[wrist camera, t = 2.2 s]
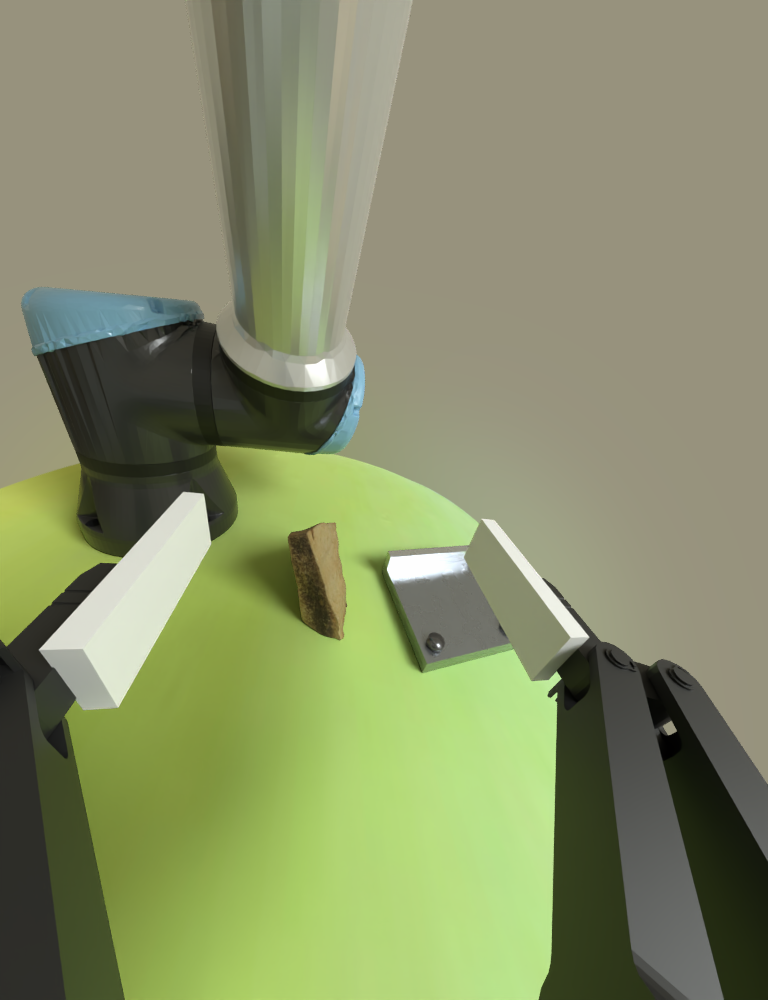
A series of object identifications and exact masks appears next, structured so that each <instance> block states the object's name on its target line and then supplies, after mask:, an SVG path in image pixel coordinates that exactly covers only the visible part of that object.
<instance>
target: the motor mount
mask: <svg viewBox="0 0 768 1000" xmlns="http://www.w3.org/2000/svg"><path fill="white" fill-rule="evenodd" d="M468 547H469V545H466V546H453V547H439V548H425V549H411V550H398V551H388V553H387V556H386V560H385V563H384V567H383V570H382V573H383V576H384V578H385V581H386V583H387V586H388V588H389V591H390V593H391V596H392V598H393V601H394V603H395V606H396V608H397V611H398V613H399V616H400V618H401V621H402V623H403V626H404V628H405V631H406V633H407V636H408V638H409V641H410V643H411V645H412V648H413V650H414V653H415V655H416V658H417V660H418V663H419V665H420V668H421V670H422V673H424V672H428V671H432V670H436V669H440V668H443V667H447V666H451V665H455V664H459V663H462V662H466V661H470V660H474V659H478V658H481V657H485V656H489V655H493V654H497V653H500V652H504V651H508V650H512V649H514V648H513V647H512V645H511V643H510V641H509V639H508V637H507V636H506V634H505V632H504V630H503V628H502V626H501V625H500V623H499V621H498V619H497V617H496V616H495V614H494V612H493V610H492V608H491V606H490V605H489V603H488V601H487V599H486V597H485V596H484V594H483V592H482V590H481V588H480V586H479V585H478V583H477V581H476V579H475V577H474V576H473V574H472V572H471V570H470V568H469V566H468V565H467V563H466V561H465V559H464V555H465V553H466V551H467V549H468Z"/></svg>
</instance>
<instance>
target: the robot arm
mask: <svg viewBox="0 0 768 1000" xmlns="http://www.w3.org/2000/svg"><path fill="white" fill-rule="evenodd" d="M185 2H186V9H187V15H188V22H189V28H190V34H191V40H192V46H193V53H194V59H195V66H196V72H197V78H198V85H199V90H200V97H201V104H202V110H203V116H204V123H205V129H206V136H207V142H208V148H209V154H210V161H211V167H212V174H213V180H214V186H215V192H216V199H217V205H218V211H219V218H220V224H221V231H222V237H223V243H224V249H225V256H226V262H227V269H228V275H229V281H230V287H231V294H232V300H231V301H230V302H229V303H227V304H226V305H225V306H224V307H223V309H222V310H221V312H220V314H219V316H218V319H217V322H216V324H212V323H207V322H204V321H203V319H204V314H203V313H202V311H201V309H200V306H199V305H198V304H197V303H196V302H194V301H187V300H177V299H168V298H157V297H147V296H136V295H124V294H115V293H105V292H93V291H83V290H72V289H61V288H49V287H38V288H33V289H31V290H29V291H28V292H26V293H25V294H24V296H23V298H22V302H21V306H22V311H23V315H24V319H25V322H26V326H27V329H28V333H29V336H30V339H31V343H32V346H33V347H32V353H33V355H34V356H37V358H38V361H39V363H40V365H41V368H42V370H43V373H44V375H45V378H46V380H47V383H48V385H49V387H50V390H51V392H52V395H53V397H54V400H55V402H56V405H57V407H58V410H59V412H60V414H61V417H62V420H63V422H64V424H65V427H66V429H67V432H68V434H69V437H70V439H71V442H72V444H73V446H74V449H75V451H76V454H77V456H78V459H79V461H80V464H81V468H82V470H81V479H80V488H79V497H78V507H77V521H78V524H79V526H80V529H81V531H82V533H83V535H84V537H85V539H86V541H87V542H88V543H89V544H90V545H91V546H92V547H94V548H95V549H97V550H99V551H101V552H104V553H107V554H111V555H115V556H121V557H123V558H122V560H121V561H120V562H119V563H118V564H113V563H100V564H98V565H96V566H95V567H93V568H91V569H90V570H88V571H86V572H84V573H83V574H81V575H80V576H79V577H78V578H77V579H76V580H74V581H73V582H72V583H71V584H70V585H69V586H68V587H67V588H66V589H65V592H64V593H61V594H60V595H59V596H58V597H57V598H56V599H55V600H54V601H53V602H52V605H51V606H48V607H47V608H46V609H45V610H44V611H43V612H42V613H41V614H40V615H39V616H38V617H37V618H36V619H35V620H34V621H33V622H32V623H31V624H30V625H28V626H27V627H26V628H25V629H24V630H23V631H22V632H21V633H20V634H19V635H18V636H17V637H16V638H15V639H14V640H13V641H12V642H11V643H10V644H9V645H8V646H7V647H6V646H5V645H4V644H3V642H2V641H1V640H0V1000H125V999H124V994H123V989H122V984H121V979H120V974H119V970H118V965H117V960H116V955H115V950H114V945H113V940H112V936H111V931H110V926H109V921H108V916H107V911H106V906H105V902H104V897H103V892H102V887H101V882H100V877H99V872H98V868H97V863H96V858H95V853H94V848H93V843H92V838H91V834H90V829H89V824H88V819H87V814H86V809H85V804H84V800H83V795H82V790H81V785H80V780H79V775H78V770H77V766H76V761H75V756H74V751H73V746H72V741H71V736H70V732H69V727H68V722H67V720H66V719H65V717H64V716H65V714H66V713H67V711H68V710H69V708H70V707H71V706H72V704H73V703H74V701H75V700H76V701H77V702H78V704H79V705H80V706H81V708H82V709H83V710H92V709H108V708H118V707H119V705H120V704H121V702H122V700H123V698H124V697H125V695H126V693H127V691H128V689H129V688H130V686H131V684H132V682H133V681H134V679H135V677H136V675H137V674H138V672H139V670H140V668H141V667H142V665H143V663H144V661H145V660H146V658H147V656H148V654H149V653H150V651H151V649H152V647H153V646H154V644H155V642H156V640H157V638H158V637H159V635H160V633H161V631H162V630H163V628H164V626H165V624H166V623H167V621H168V619H169V617H170V616H171V614H172V612H173V610H174V609H175V607H176V605H177V603H178V602H179V600H180V598H181V596H182V594H183V593H184V591H185V589H186V587H187V586H188V584H189V582H190V580H191V579H192V577H193V575H194V573H195V572H196V570H197V568H198V566H199V565H200V563H201V561H202V559H203V558H204V556H205V554H206V552H207V551H208V549H209V547H210V545H211V541H212V540H214V539H215V538H217V537H219V536H220V535H222V534H223V533H224V532H225V531H227V530H228V529H229V528H230V527H231V526H232V524H233V523H234V521H235V520H236V517H237V514H238V505H237V496H236V493H235V490H234V488H233V486H232V484H231V483H230V481H229V479H228V477H227V475H226V473H225V471H224V469H223V467H222V465H221V463H220V461H219V460H218V457H217V451H216V445H218V446H231V447H243V448H255V449H265V450H275V451H285V452H295V453H304V454H307V455H315V454H335V453H337V452H340V451H341V450H342V449H344V448H345V447H346V446H347V444H348V443H349V441H350V440H351V438H352V436H353V434H354V432H355V429H356V427H357V424H358V420H359V410H360V408H361V407H362V402H363V398H364V388H365V372H364V366H363V363H362V361H361V359H360V357H359V356H358V355H356V347H355V343H354V340H353V338H352V336H351V334H350V333H349V331H348V329H347V328H346V327H345V326H346V321H347V316H348V311H349V307H350V302H351V297H352V292H353V287H354V282H355V278H356V273H357V268H358V263H359V258H360V253H361V248H362V244H363V238H364V234H365V229H366V224H367V220H368V215H369V210H370V205H371V200H372V195H373V190H374V186H375V180H376V176H377V171H378V166H379V161H380V156H381V152H382V147H383V142H384V137H385V132H386V128H387V123H388V118H389V113H390V108H391V103H392V98H393V93H394V89H395V84H396V79H397V74H398V69H399V65H400V60H401V55H402V50H403V45H404V40H405V35H406V30H407V26H408V21H409V16H410V11H411V6H412V2H413V0H185ZM464 559H465V561H466V563H467V565H468V566H469V568H470V570H471V572H472V574H473V576H474V577H475V579H476V581H477V583H478V585H479V586H480V588H481V590H482V592H483V594H484V596H485V597H486V599H487V601H488V603H489V605H490V606H491V608H492V610H493V612H494V614H495V616H496V617H497V619H498V621H499V623H500V625H501V626H502V628H503V630H504V632H505V634H506V636H507V637H508V639H509V641H510V643H511V645H512V647H513V648H514V650H515V652H516V654H517V656H518V657H519V659H520V661H521V663H522V665H523V667H524V668H525V670H526V672H527V674H528V676H529V677H530V679H531V681H539V680H549V679H550V678H551V677H552V676H553V675H554V673H555V672H556V671H557V672H558V674H559V675H560V677H561V678H562V679H561V680H560V681H559V682H558V683H557V684H556V685H555V686H554V687H553V688H552V689H551V690H550V691H549V693H548V697H550V698H551V697H552V696H553V695H554V694H555V693H556V692H558V695H557V699H556V700H555V701H556V702H557V739H556V783H555V826H554V870H553V914H552V954H551V964H550V969H549V973H548V975H547V977H546V979H545V981H544V983H543V986H542V988H541V992H540V996H539V1000H768V784H767V783H766V781H765V780H764V779H763V777H762V776H761V774H760V773H759V771H758V769H757V768H756V767H755V765H754V764H753V762H752V761H751V759H750V758H749V756H748V755H747V753H746V752H745V750H744V749H743V747H742V746H741V744H740V743H739V742H738V740H737V738H736V737H735V735H734V734H733V732H732V731H731V729H730V728H729V726H728V725H727V723H726V722H725V720H724V719H723V717H722V716H721V715H720V713H719V712H718V710H717V709H716V707H715V706H714V704H713V703H712V701H711V700H710V698H709V697H708V695H707V694H706V692H705V691H704V689H703V688H702V686H700V684H699V683H698V682H697V680H696V679H695V678H693V676H691V675H690V674H689V673H688V672H687V671H686V670H684V669H683V668H682V667H680V666H678V665H677V664H674V663H672V662H670V661H667V660H663V659H661V660H658V661H657V662H655V663H654V664H653V665H652V666H647V665H644V664H641V663H637V662H634V661H633V660H632V659H631V658H630V657H629V656H628V655H627V654H626V653H624V651H622V650H621V649H619V648H618V647H616V646H615V645H612V644H610V643H607V642H601V641H600V640H599V639H598V638H597V637H596V635H595V634H594V633H593V632H592V631H591V629H590V628H589V627H588V626H587V625H586V623H585V622H584V621H583V620H582V619H581V617H580V616H579V615H578V614H577V613H576V611H575V610H574V609H573V608H571V605H570V604H569V603H568V602H567V601H566V600H564V597H563V596H562V595H561V594H560V592H559V591H558V590H557V589H556V588H555V587H554V586H553V585H552V584H551V583H549V582H548V581H546V580H545V579H544V578H541V577H540V576H539V574H538V573H537V572H536V571H535V570H534V568H533V567H532V566H531V565H530V563H529V562H528V561H527V560H526V559H525V557H524V556H523V555H522V554H521V552H520V551H519V550H518V549H517V547H516V546H515V545H514V544H513V542H512V541H511V540H510V539H509V538H508V536H507V535H506V534H505V533H504V532H503V530H502V529H501V528H500V527H499V525H498V524H497V523H496V522H495V520H488V519H481V521H480V523H479V525H478V528H477V530H476V532H475V534H474V536H473V538H472V540H471V543H470V545H469V547H468V549H467V551H466V553H465V555H464ZM671 720H672V722H673V724H674V726H675V728H676V729H677V732H675V733H673V734H672V735H667V733H666V731H665V730H664V728H663V725H664V724H666V723H668V722H670V721H671Z"/></svg>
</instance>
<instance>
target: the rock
mask: <svg viewBox="0 0 768 1000" xmlns="http://www.w3.org/2000/svg"><path fill="white" fill-rule="evenodd" d="M288 543H289V548H290V555H291V562H292V565H293V570H294V574H295V578H296V583H297V586H298V597H299V606H300V612H301V617H302V620H303V622H304V623H306V624H307V625H308V626H310V627H311V628H312V629H314V630H316V631H317V632H319V633H320V634H322V635H324V636H327V637H331V638H336V639H338V640H341V639H343V637H344V632H343V625H344V617H345V614H346V607H347V603H346V585H345V580H344V578H343V574H342V564H341V561H340V558H339V553H338V545H339V544H338V537H337V532H336V523H320V524H317V525H315V526H313V527H311V528H308V529H306V530H302V531H296V532H291V533H290V535H289V536H288Z"/></svg>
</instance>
